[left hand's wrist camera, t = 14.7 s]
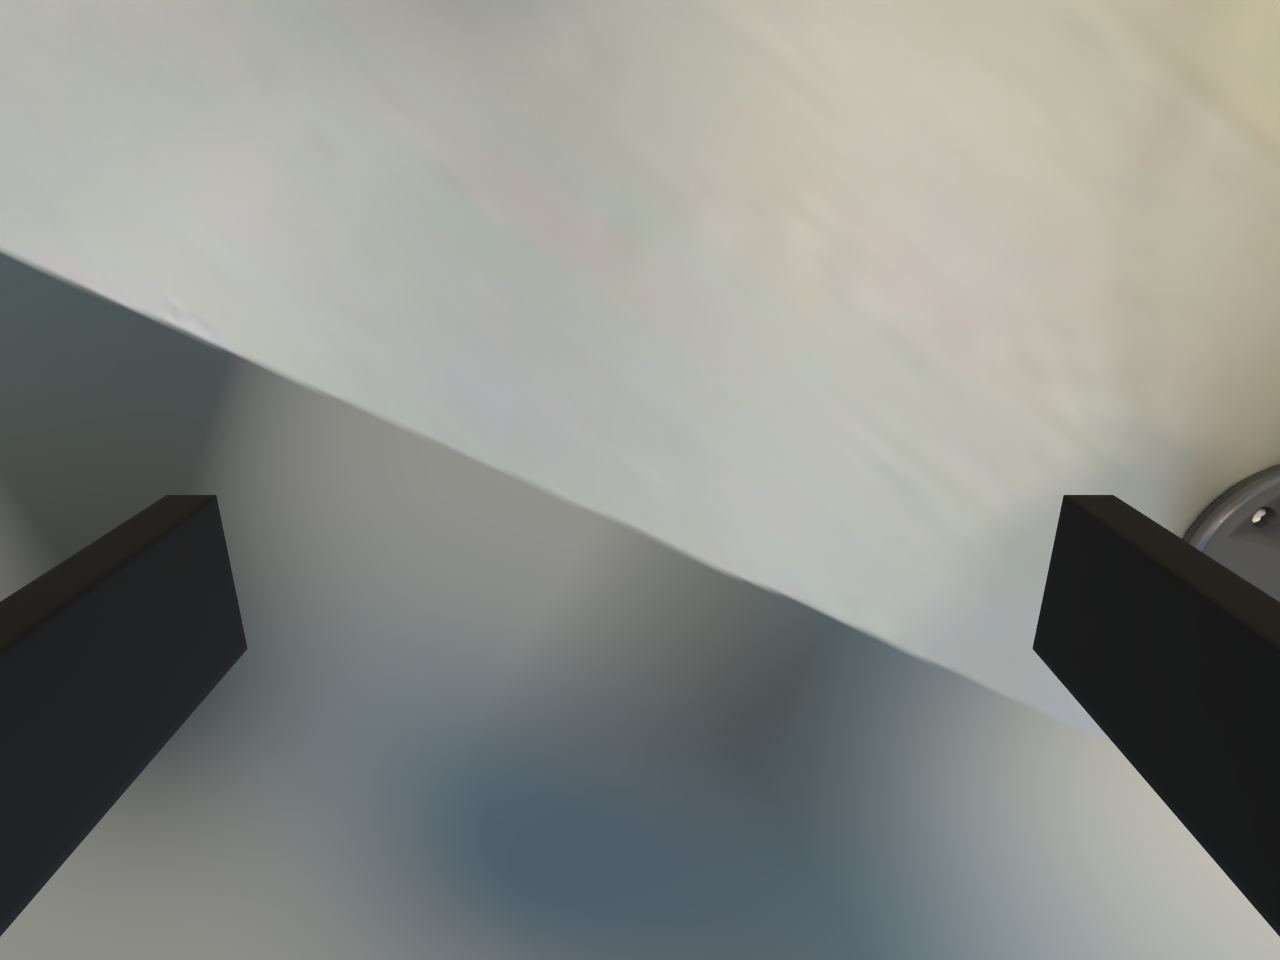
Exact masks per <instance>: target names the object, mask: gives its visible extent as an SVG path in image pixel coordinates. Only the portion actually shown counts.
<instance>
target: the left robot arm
mask: <svg viewBox="0 0 1280 960" xmlns="http://www.w3.org/2000/svg"><path fill="white" fill-rule="evenodd" d="M246 650H247V645H246V640H245V635H244V630H243V625H242V620H241V615H240V610H239V605H238V600H237V595H236V590H235V586H234V581H233V576H232V571H231V566H230V561H229V556H228V551H227V546H226V541H225V536H224V531H223V526H222V521H221V517H220V512H219V507H218V502H217V497H216V495H166V496H165V497H163V498H162V499H160V500H158V501H157V502H155V503H154V504H152V505H151V506H149V507H148V508H146V509H144V510H143V511H141V512H140V513H138V514H137V515H135V516H133V517H132V518H130V519H129V520H127V521H126V522H124V523H123V524H121V525H119V526H118V527H116V528H115V529H113V530H112V531H110V532H109V533H107V534H105V535H104V536H102V537H101V538H99V539H98V540H96V541H95V542H93V543H91V544H90V545H88V546H87V547H85V548H84V549H82V550H80V551H79V552H77V553H76V554H74V555H73V556H71V557H70V558H68V559H67V560H65V561H63V562H62V563H60V564H59V565H57V566H56V567H54V568H52V569H51V570H49V571H48V572H46V573H45V574H43V575H42V576H40V577H39V578H37V579H35V580H34V581H32V582H31V583H29V584H28V585H26V586H24V587H23V588H21V589H20V590H18V591H17V592H15V593H13V594H12V595H10V596H9V597H7V598H6V599H4V600H3V601H1V602H0V936H1V935H2V934H3V933H4V932H5V930H6V929H7V928H8V927H9V926H10V925H11V923H12V922H13V921H14V920H15V919H16V918H17V916H18V915H19V914H20V913H21V912H22V911H23V909H24V908H25V907H26V906H27V905H28V904H29V902H30V901H31V900H32V899H33V898H34V897H35V895H36V894H37V893H38V892H39V891H40V890H41V889H42V887H43V886H44V885H45V884H46V883H47V881H48V880H49V879H50V878H51V877H52V876H53V875H54V873H55V872H56V871H57V870H58V869H59V868H60V866H61V865H62V864H63V863H64V862H65V861H66V859H67V858H68V857H69V856H70V855H71V854H72V852H73V851H74V850H75V849H76V848H77V847H78V845H79V844H80V843H81V842H82V841H83V840H84V838H85V837H86V836H87V835H88V834H89V833H90V831H91V830H92V829H93V828H94V827H95V826H96V824H97V823H98V822H99V821H100V820H101V819H102V817H103V816H104V815H105V814H106V813H107V812H108V810H109V809H110V808H111V807H112V806H113V805H114V803H115V802H116V801H117V800H118V799H119V798H120V796H121V795H122V794H123V793H124V792H125V791H126V789H127V788H128V787H129V786H130V785H131V784H132V782H133V781H134V780H135V779H136V778H137V777H138V776H139V774H140V773H141V772H142V771H143V770H144V769H145V767H146V766H147V765H148V764H149V763H150V761H151V760H152V759H153V758H154V757H155V756H156V754H157V753H158V752H159V751H160V750H161V749H162V748H163V746H164V745H165V744H166V743H167V742H168V741H169V739H170V738H171V737H172V736H173V735H174V734H175V732H176V731H177V730H178V729H179V728H180V727H181V725H182V724H183V723H184V722H185V721H186V720H187V718H188V717H189V716H190V715H191V714H192V713H193V711H194V710H195V709H196V708H197V707H198V706H199V704H200V703H201V702H202V701H203V700H204V699H205V697H206V696H207V695H208V694H209V693H210V692H211V690H212V689H213V688H214V687H215V686H216V685H217V683H218V682H219V681H220V680H221V679H222V678H223V676H224V675H225V674H226V673H227V672H228V671H229V669H230V668H231V667H232V666H233V665H234V664H235V663H236V661H237V660H238V659H239V658H240V657H241V656H242V654H243V653H244V652H245V651H246ZM1033 650H1034V651H1035V652H1036V653H1037V654H1038V656H1039V657H1040V658H1041V659H1042V660H1043V661H1044V663H1045V664H1046V665H1047V666H1048V667H1049V668H1050V670H1051V671H1052V672H1053V673H1054V674H1055V675H1056V676H1057V678H1058V679H1059V680H1060V681H1061V682H1062V683H1063V685H1064V686H1065V687H1066V688H1067V689H1068V690H1069V692H1070V693H1071V694H1072V695H1073V696H1074V697H1075V699H1076V700H1077V701H1078V702H1079V703H1080V704H1081V706H1082V707H1083V708H1084V709H1085V710H1086V711H1087V713H1088V714H1089V715H1090V716H1091V717H1092V718H1093V720H1094V721H1095V722H1096V723H1097V724H1098V725H1099V727H1100V728H1101V729H1102V730H1103V731H1104V732H1105V734H1106V735H1107V736H1108V737H1109V738H1110V739H1111V741H1112V742H1113V743H1114V744H1115V745H1116V746H1117V748H1118V749H1119V750H1120V751H1121V752H1122V753H1123V755H1124V756H1125V757H1126V758H1127V759H1128V760H1129V762H1130V763H1131V764H1132V765H1133V766H1134V767H1135V768H1136V770H1137V771H1138V772H1139V773H1140V774H1141V776H1142V777H1143V778H1144V779H1145V780H1146V781H1147V782H1148V784H1149V785H1150V786H1151V787H1152V788H1153V789H1154V791H1155V792H1156V793H1157V794H1158V795H1159V796H1160V798H1161V799H1162V800H1163V801H1164V802H1165V803H1166V805H1167V806H1168V807H1169V808H1170V809H1171V810H1172V812H1173V813H1174V814H1175V815H1176V816H1177V817H1178V819H1179V820H1180V821H1181V822H1182V823H1183V824H1184V826H1185V827H1186V828H1187V829H1188V830H1189V831H1190V833H1191V834H1192V835H1193V836H1194V837H1195V838H1196V840H1197V841H1198V842H1199V843H1200V844H1201V845H1202V847H1203V848H1204V849H1205V850H1206V851H1207V852H1208V854H1209V855H1210V856H1211V857H1212V858H1213V859H1214V861H1215V862H1216V863H1217V864H1218V865H1219V866H1220V867H1221V869H1222V870H1223V871H1224V872H1225V873H1226V875H1227V876H1228V877H1229V878H1230V879H1231V880H1232V882H1233V883H1234V884H1235V885H1236V886H1237V887H1238V889H1239V890H1240V891H1241V892H1242V893H1243V894H1244V895H1245V897H1246V898H1247V899H1248V900H1249V901H1250V902H1251V904H1252V905H1253V906H1254V907H1255V908H1256V909H1257V911H1258V912H1259V913H1260V914H1261V915H1262V916H1263V918H1264V919H1265V920H1266V921H1267V922H1268V923H1269V925H1270V926H1271V927H1272V928H1273V929H1274V930H1275V932H1276V933H1277V934H1278V935H1279V936H1280V602H1279V601H1277V600H1276V599H1274V598H1273V597H1271V596H1270V595H1268V594H1267V593H1265V592H1263V591H1262V590H1260V589H1259V588H1257V587H1256V586H1254V585H1252V584H1251V583H1249V582H1248V581H1246V580H1245V579H1243V578H1242V577H1240V576H1238V575H1237V574H1235V573H1234V572H1232V571H1231V570H1229V569H1228V568H1226V567H1224V566H1223V565H1221V564H1220V563H1218V562H1217V561H1215V560H1214V559H1212V558H1210V557H1209V556H1207V555H1206V554H1204V553H1203V552H1201V551H1200V550H1198V549H1196V548H1195V547H1193V546H1192V545H1190V544H1189V543H1187V542H1186V541H1184V540H1182V539H1181V538H1179V537H1178V536H1176V535H1175V534H1173V533H1171V532H1170V531H1168V530H1167V529H1165V528H1164V527H1162V526H1161V525H1159V524H1157V523H1156V522H1154V521H1153V520H1151V519H1150V518H1148V517H1147V516H1145V515H1143V514H1142V513H1140V512H1139V511H1137V510H1136V509H1134V508H1133V507H1131V506H1129V505H1128V504H1126V503H1125V502H1123V501H1122V500H1120V499H1119V498H1117V497H1115V496H1114V495H1064V497H1063V502H1062V507H1061V512H1060V517H1059V521H1058V526H1057V531H1056V536H1055V541H1054V546H1053V551H1052V556H1051V561H1050V566H1049V571H1048V576H1047V581H1046V585H1045V590H1044V595H1043V600H1042V605H1041V610H1040V615H1039V620H1038V625H1037V630H1036V635H1035V640H1034V645H1033Z"/></svg>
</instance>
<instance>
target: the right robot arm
mask: <svg viewBox="0 0 1280 960" xmlns="http://www.w3.org/2000/svg"><path fill="white" fill-rule="evenodd" d="M1183 540H1184V541H1186V542H1187V543H1189V544H1190V545H1192V546H1193V547H1195V548H1196V549H1198V550H1200V551H1201V552H1203V553H1204V554H1206V555H1207V556H1209V557H1210V558H1212V559H1214V560H1215V561H1217V562H1218V563H1220V564H1221V565H1223V566H1224V567H1226V568H1228V569H1229V570H1231V571H1232V572H1234V573H1235V574H1237V575H1238V576H1240V577H1242V578H1243V579H1245V580H1246V581H1248V582H1249V583H1251V584H1252V585H1254V586H1256V587H1257V588H1259V589H1260V590H1262V591H1263V592H1265V593H1267V594H1268V595H1270V596H1271V597H1273V598H1274V599H1276V600H1277V601H1279V602H1280V464H1279V465H1276V466H1273V467H1270V468H1268V469H1265V470H1263V471H1260V472H1258V473H1256V474H1254V475H1252V476H1250V477H1248V478H1247V479H1245V480H1243V481H1242V482H1240V483H1238V484H1237V485H1235V486H1234V487H1232V488H1231V489H1229V490H1228V491H1227V492H1225V493H1224V494H1223V495H1222V496H1220V497H1219V498H1218V499H1217V500H1215V501H1214V502H1213V503H1212V504H1211V505H1210V506H1209V507H1208V508H1207V509H1206V510H1205V511H1204V512H1203V513H1202V515H1201V516H1200V517H1199V518H1198V519H1197V520H1196V522H1195V523H1194V524H1193V526H1192V527H1191V528H1190V530H1189V531H1188V533H1187V534H1186V536H1185V537H1184V539H1183Z"/></svg>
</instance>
